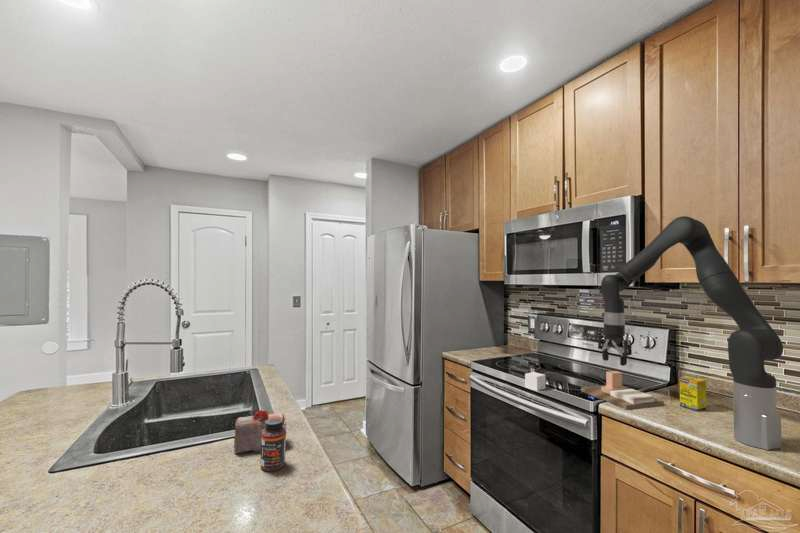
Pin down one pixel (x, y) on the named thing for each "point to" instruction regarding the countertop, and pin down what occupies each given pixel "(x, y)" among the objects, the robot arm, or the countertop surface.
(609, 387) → the stub
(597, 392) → the board
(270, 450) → the supplement bottle
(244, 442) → the pink box with bow
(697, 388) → the supplement box
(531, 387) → the white cube
